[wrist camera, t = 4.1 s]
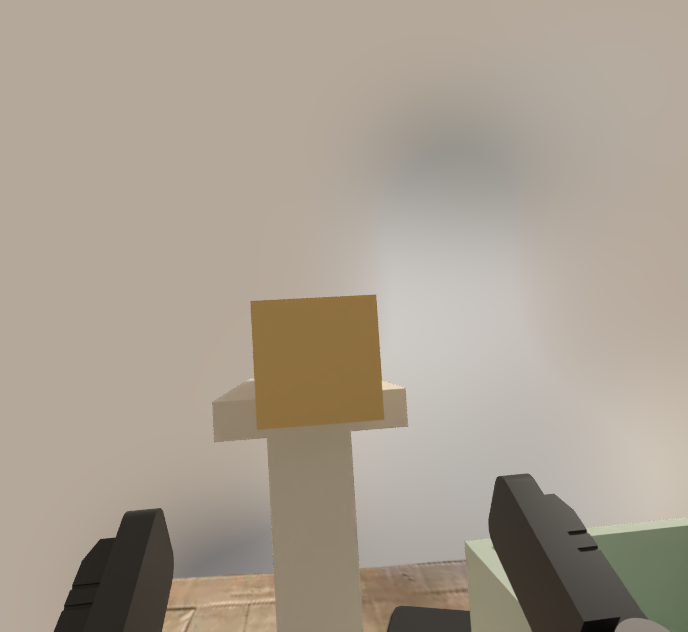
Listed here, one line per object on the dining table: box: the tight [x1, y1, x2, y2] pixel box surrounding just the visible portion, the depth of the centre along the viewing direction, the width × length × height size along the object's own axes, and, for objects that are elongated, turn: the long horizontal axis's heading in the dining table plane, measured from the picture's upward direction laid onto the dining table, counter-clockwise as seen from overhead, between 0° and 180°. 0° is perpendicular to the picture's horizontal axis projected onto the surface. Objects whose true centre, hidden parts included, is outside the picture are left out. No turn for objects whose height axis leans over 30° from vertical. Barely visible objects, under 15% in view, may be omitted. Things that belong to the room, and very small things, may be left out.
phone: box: [388, 606, 471, 632], centre depth 58 cm, size 7×1×15 cm
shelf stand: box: [212, 379, 408, 632], centre depth 34 cm, size 20×10×32 cm, turn 6°
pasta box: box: [251, 295, 384, 430], centre depth 29 cm, size 28×4×4 cm, turn 6°
